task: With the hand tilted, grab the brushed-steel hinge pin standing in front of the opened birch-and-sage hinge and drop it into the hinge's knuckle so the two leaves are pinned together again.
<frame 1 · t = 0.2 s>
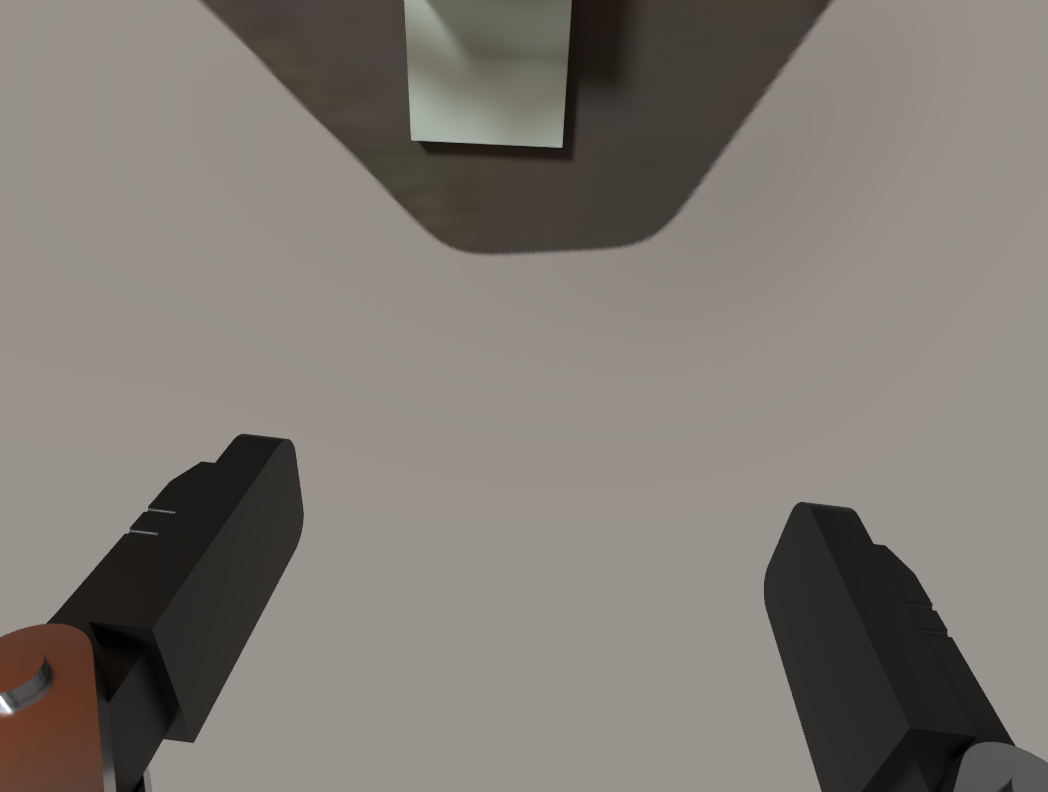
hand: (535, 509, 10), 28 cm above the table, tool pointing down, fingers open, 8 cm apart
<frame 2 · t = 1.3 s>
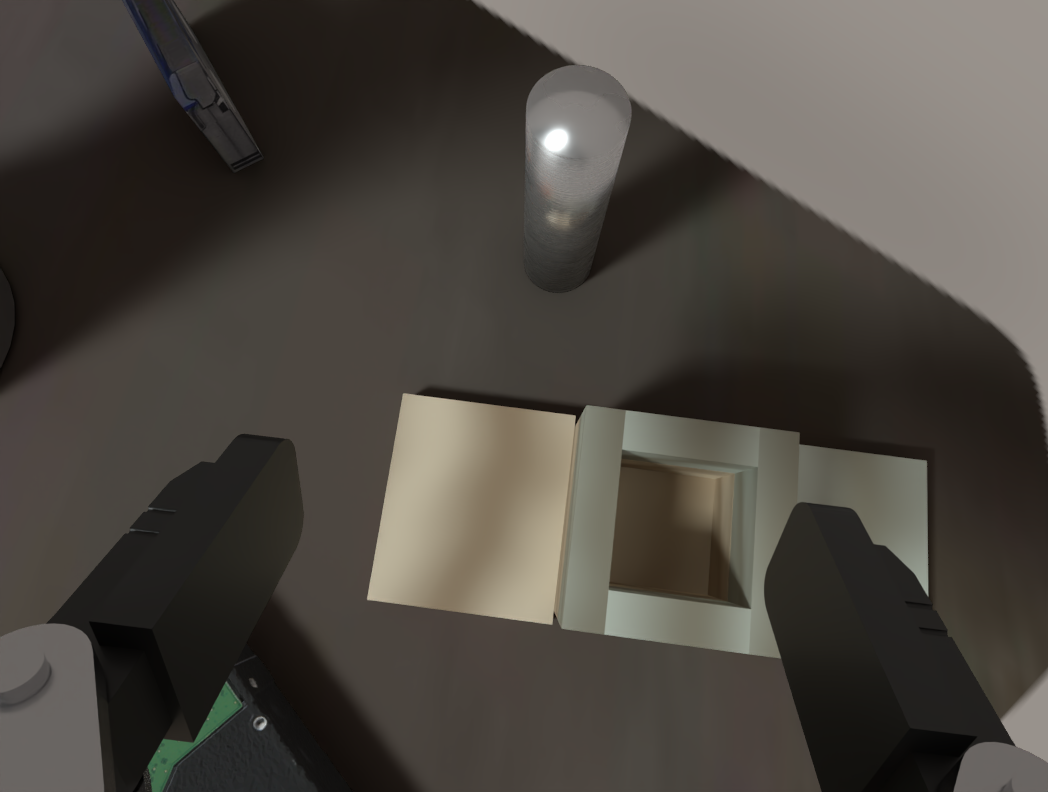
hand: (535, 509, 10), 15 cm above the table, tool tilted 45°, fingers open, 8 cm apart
mini dv tape: (214, 102, 29), on the table
hinge pin: (557, 260, 27), on the table
hinge leaves: (649, 528, 25), on the table
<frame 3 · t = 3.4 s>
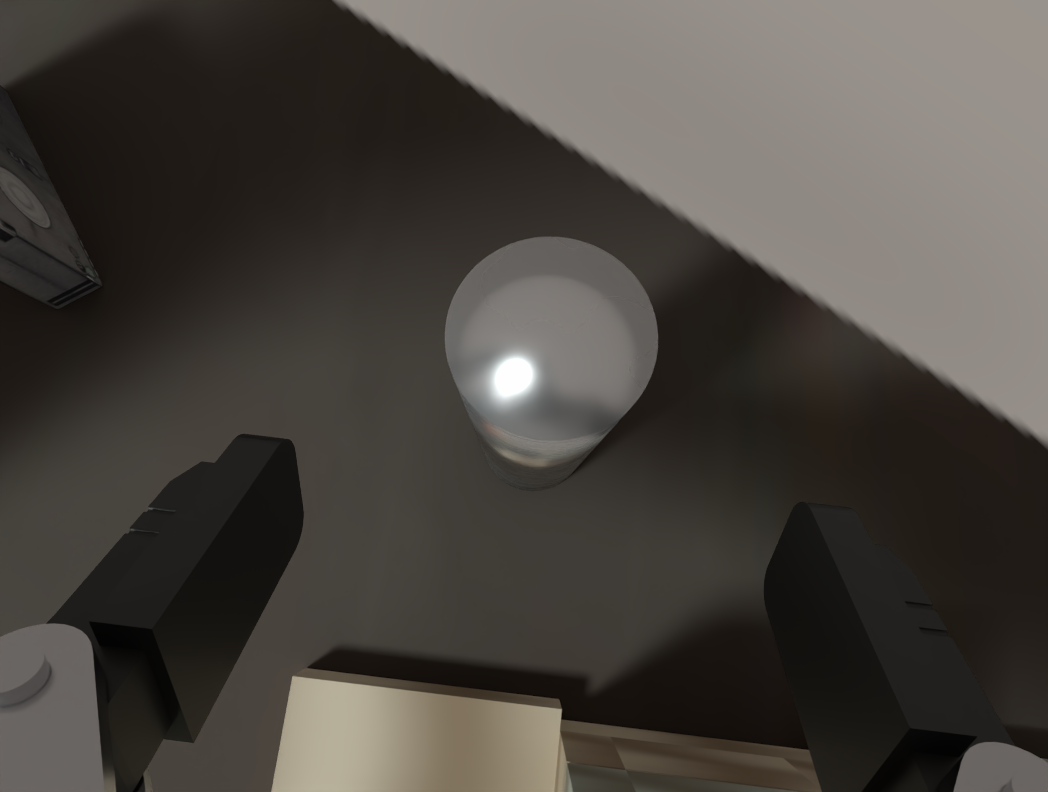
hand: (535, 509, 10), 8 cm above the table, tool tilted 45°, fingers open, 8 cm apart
mini dv tape: (37, 200, 20), on the table
hinge pin: (533, 439, 18), on the table
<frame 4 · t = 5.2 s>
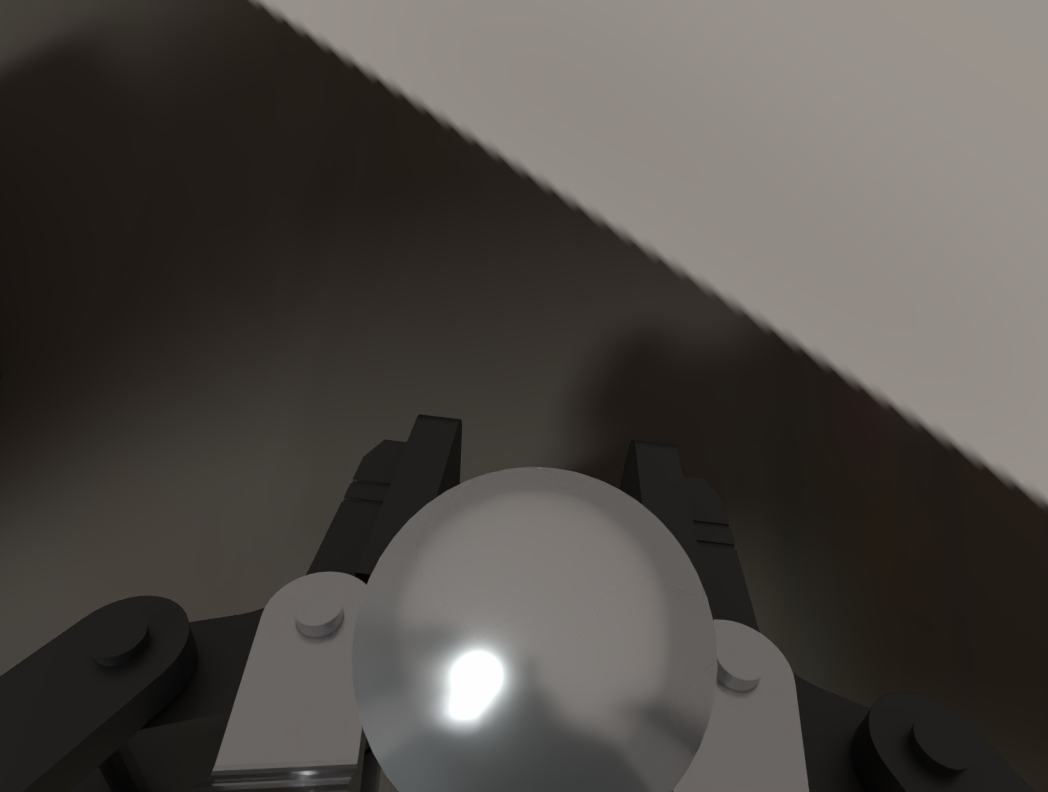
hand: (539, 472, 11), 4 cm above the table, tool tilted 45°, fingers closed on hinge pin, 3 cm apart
hinge pin: (525, 575, 15), on the table, touching gripper
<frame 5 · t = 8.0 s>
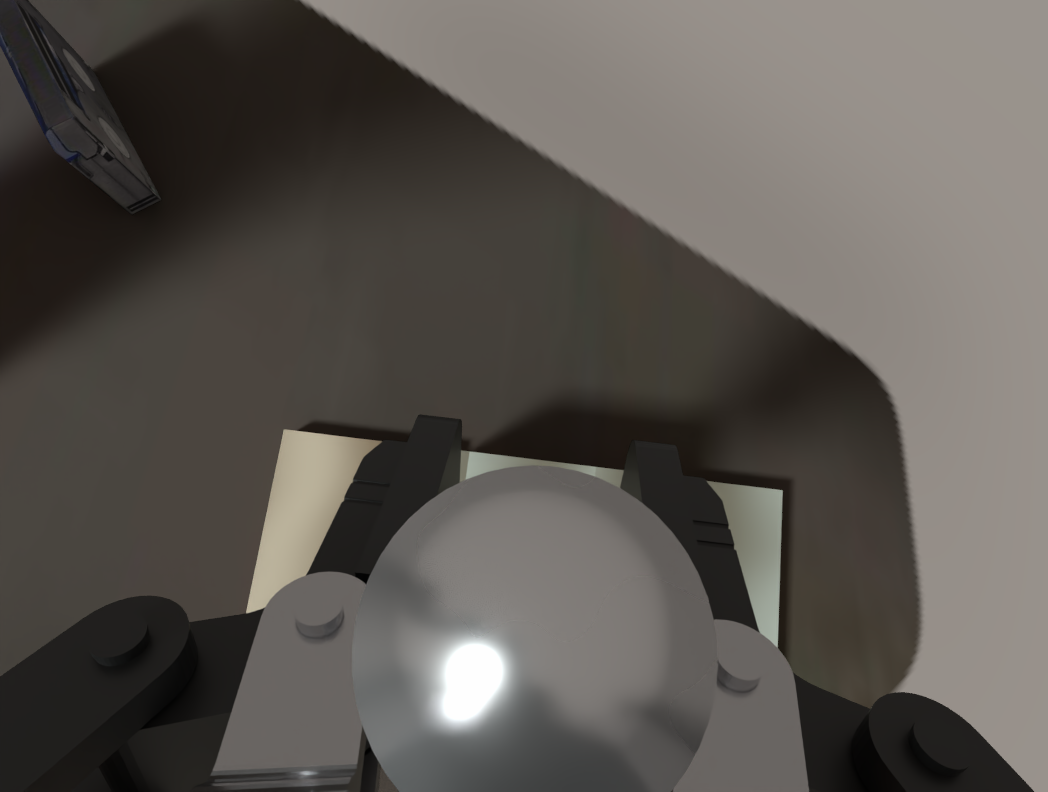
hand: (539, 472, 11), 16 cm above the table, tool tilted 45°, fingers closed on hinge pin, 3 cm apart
mini dv tape: (115, 144, 30), on the table
hinge pin: (525, 574, 15), point 12 cm above the table, touching gripper
hinge leaves: (519, 556, 26), on the table
when the fingers open (6 cm above the table, at t = 10.9 s): hinge pin stays where it is, resting on hinge leaves.
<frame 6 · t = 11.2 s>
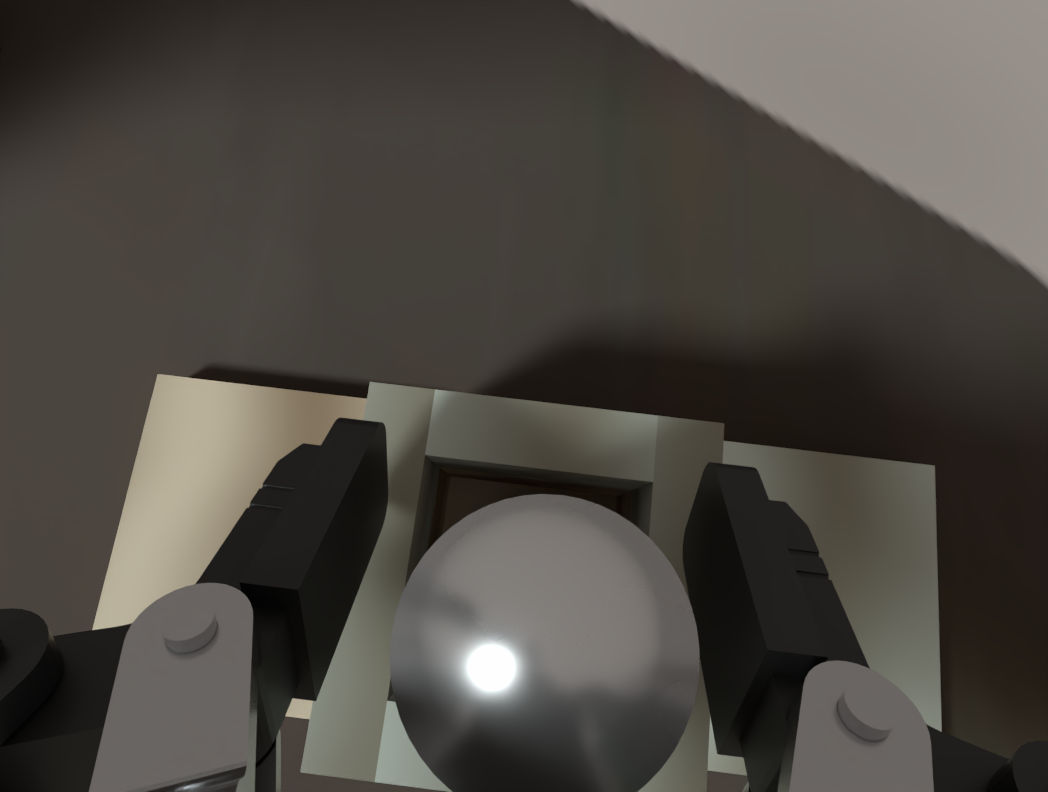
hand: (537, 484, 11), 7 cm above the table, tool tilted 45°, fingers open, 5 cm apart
hinge pin: (525, 575, 16), point 1 cm above the table, touching hinge leaves
hinge leaves: (523, 570, 17), on the table
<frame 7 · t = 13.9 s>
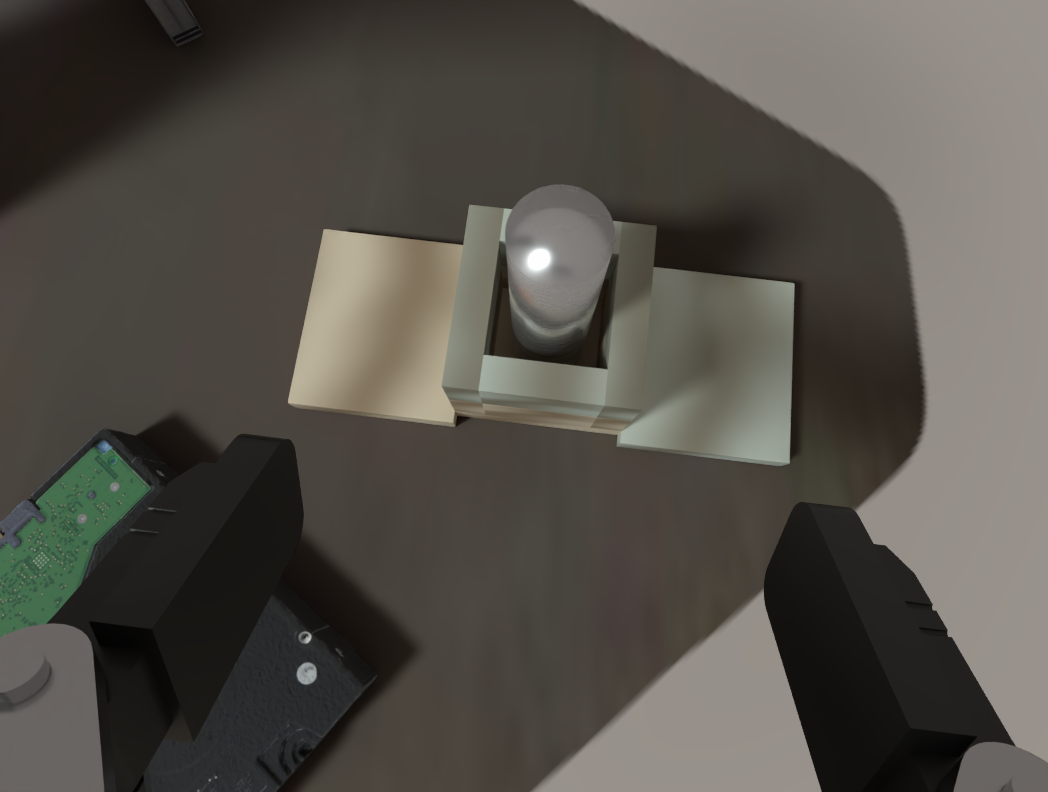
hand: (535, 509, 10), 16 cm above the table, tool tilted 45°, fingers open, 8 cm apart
disk drive: (169, 643, 26), on the table
hinge pin: (548, 342, 27), point 1 cm above the table, touching hinge leaves
hinge leaves: (546, 348, 28), on the table
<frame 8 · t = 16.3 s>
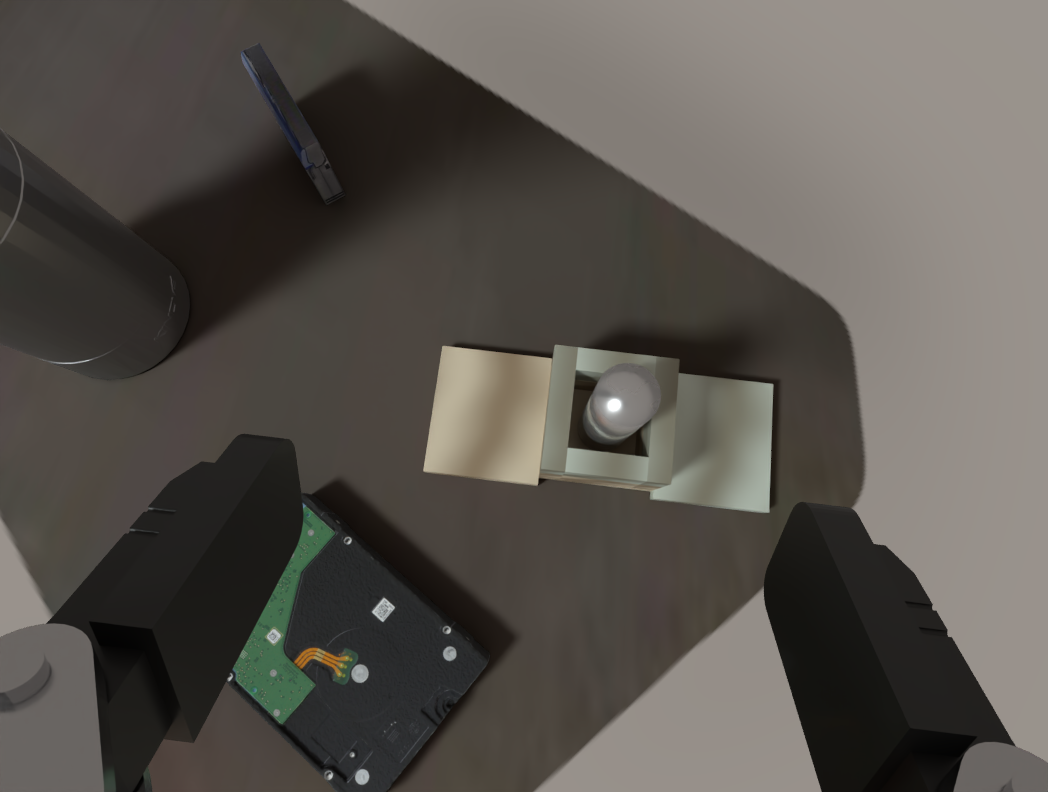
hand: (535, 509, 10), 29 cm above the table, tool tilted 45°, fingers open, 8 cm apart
disk drive: (344, 637, 37), on the table
mini dv tape: (310, 157, 44), on the table
hinge pin: (601, 427, 38), point 1 cm above the table, touching hinge leaves
hinge leaves: (599, 429, 39), on the table
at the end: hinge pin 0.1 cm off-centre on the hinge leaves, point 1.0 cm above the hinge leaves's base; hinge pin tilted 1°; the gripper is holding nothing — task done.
